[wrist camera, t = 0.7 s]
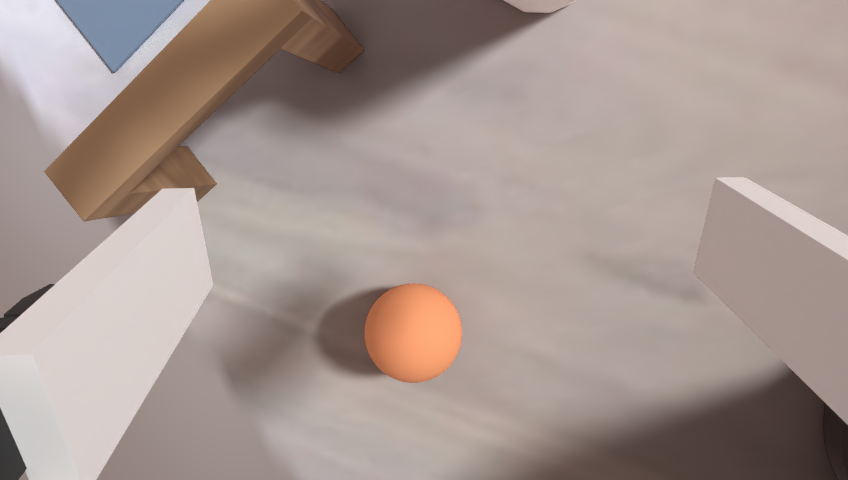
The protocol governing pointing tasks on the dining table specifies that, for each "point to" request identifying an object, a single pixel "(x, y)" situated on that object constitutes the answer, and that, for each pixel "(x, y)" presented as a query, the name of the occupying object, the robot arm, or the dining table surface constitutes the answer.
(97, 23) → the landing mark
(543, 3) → the foam cup
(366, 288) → the dining table surface
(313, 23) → the bridge
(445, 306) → the ball
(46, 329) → the robot arm
